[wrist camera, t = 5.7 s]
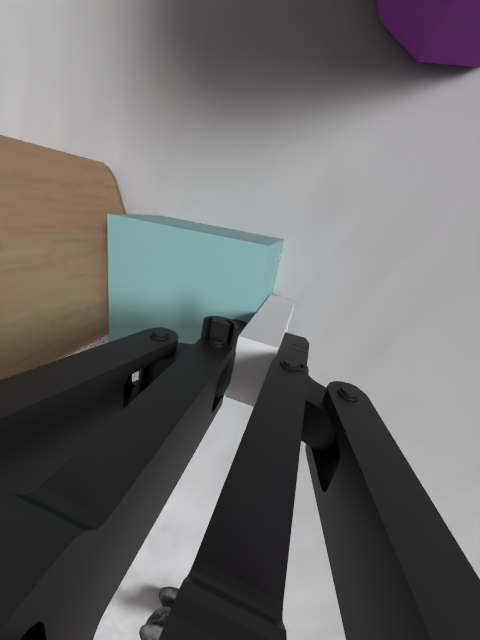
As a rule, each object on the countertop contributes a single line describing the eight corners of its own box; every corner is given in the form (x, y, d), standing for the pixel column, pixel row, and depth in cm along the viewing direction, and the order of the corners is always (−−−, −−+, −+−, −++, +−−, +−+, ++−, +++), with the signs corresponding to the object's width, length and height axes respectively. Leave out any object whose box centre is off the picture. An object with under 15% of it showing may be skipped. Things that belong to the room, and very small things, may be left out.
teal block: (162, 215, 18) (107, 213, 13) (284, 239, 16) (268, 245, 12) (156, 328, 21) (109, 357, 16) (258, 357, 19) (238, 399, 15)
